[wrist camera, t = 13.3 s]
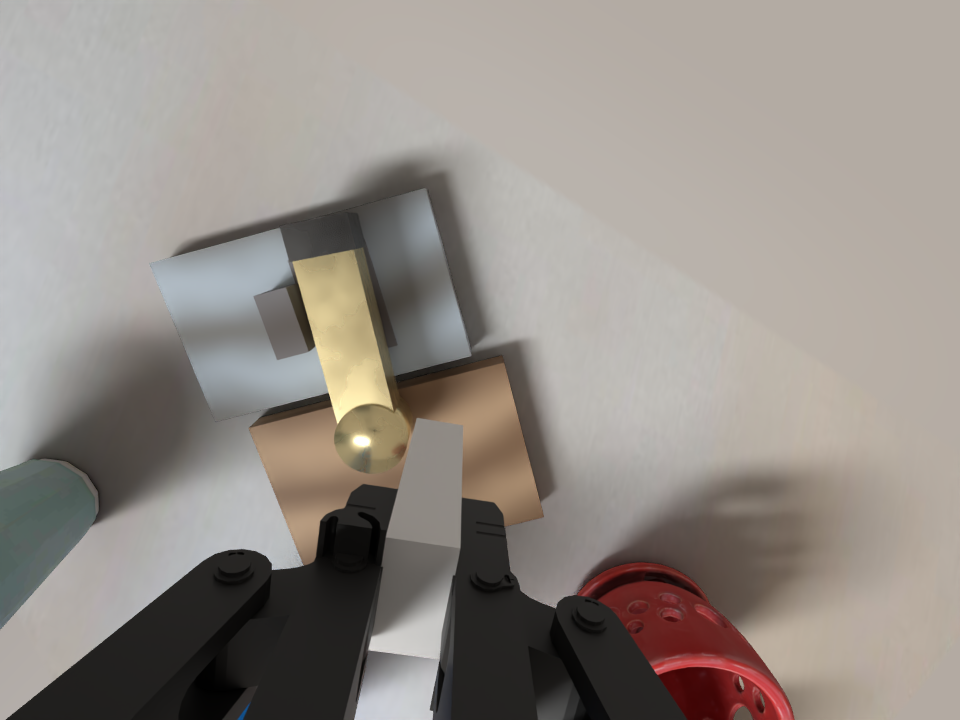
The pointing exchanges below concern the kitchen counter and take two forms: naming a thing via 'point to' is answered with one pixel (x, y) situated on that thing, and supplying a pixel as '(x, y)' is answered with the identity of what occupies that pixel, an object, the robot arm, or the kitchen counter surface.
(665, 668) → the plant pot
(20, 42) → the kitchen counter surface
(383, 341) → the swing bar
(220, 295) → the door and jamb
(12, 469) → the disposable coffee cup
